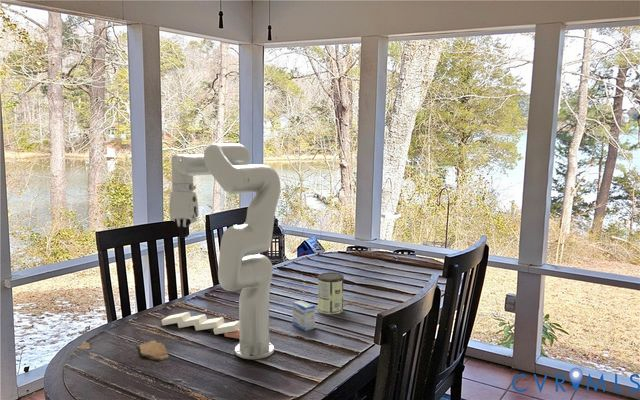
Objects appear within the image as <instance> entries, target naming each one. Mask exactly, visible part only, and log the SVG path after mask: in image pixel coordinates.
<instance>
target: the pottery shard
mask: <svg viewBox="0 0 640 400" xmlns="http://www.w3.org/2000/svg"><path fill="white" fill-rule="evenodd" d="M136 348H137V349H138V350H139V353H140V355H141V356H142V357H145V358H148V359H149V360H154V361H159V362H160V361H164V360H167V359H168V358H170V357H169V354H168V352H167V350H166V349H167V348H166V346H165V345H164V344H163V343H162V342H157V341H156V340H151V341H148V342H145V343H142V344H141V343H140V344H137V345H136Z"/></svg>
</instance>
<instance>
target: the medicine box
mask: <svg viewBox="0 0 640 400" xmlns="http://www.w3.org/2000/svg"><path fill="white" fill-rule="evenodd" d="M315 314H316V306H315V305H313V304H311V303H308V302H306V301H304V300H297V301H293V302H292V322H291V323H292V325H293V326H295V327H296V328H298V329H300V330H303V331H305V332H306V331H307V332H308V331H311V330H313V329H315V326H316V325H315V323H316V315H315Z"/></svg>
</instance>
